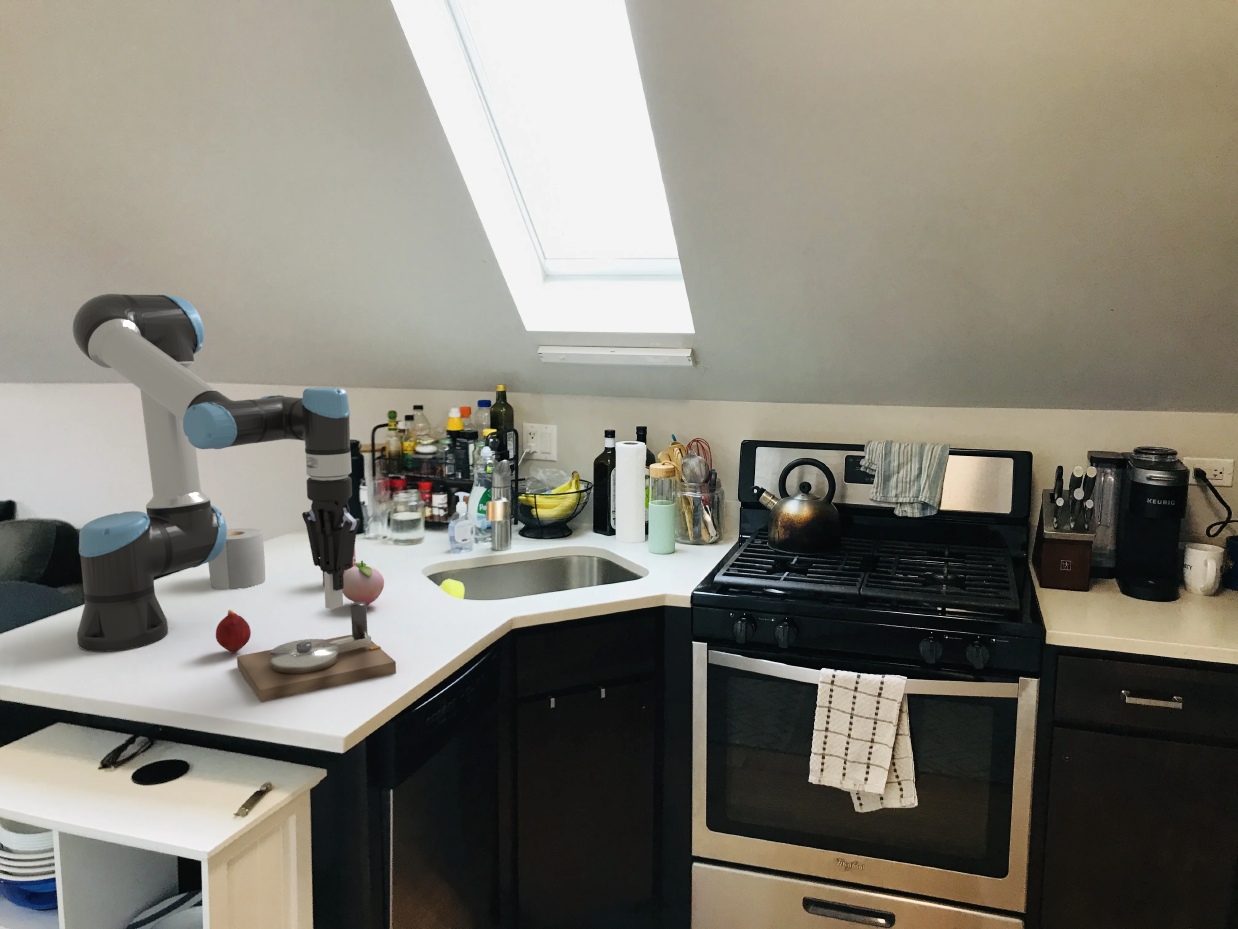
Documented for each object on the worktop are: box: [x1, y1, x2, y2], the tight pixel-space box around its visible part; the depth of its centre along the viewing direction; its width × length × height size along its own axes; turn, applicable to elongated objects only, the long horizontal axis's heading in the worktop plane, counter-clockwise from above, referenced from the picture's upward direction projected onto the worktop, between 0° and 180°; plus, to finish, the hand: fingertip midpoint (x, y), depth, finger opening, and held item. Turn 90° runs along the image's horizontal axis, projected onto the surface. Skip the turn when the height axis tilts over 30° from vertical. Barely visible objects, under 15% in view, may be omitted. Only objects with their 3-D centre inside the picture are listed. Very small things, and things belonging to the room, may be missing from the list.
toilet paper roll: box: [207, 527, 266, 590], centre depth 211 cm, size 12×12×12 cm
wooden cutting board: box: [236, 634, 397, 703], centre depth 157 cm, size 22×18×2 cm
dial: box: [270, 602, 372, 673], centre depth 156 cm, size 17×11×8 cm, turn 130°
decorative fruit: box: [343, 560, 385, 607], centre depth 192 cm, size 9×8×10 cm
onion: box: [215, 609, 252, 654], centre depth 165 cm, size 6×6×8 cm
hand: (334, 606), depth 164 cm, fingers closed
